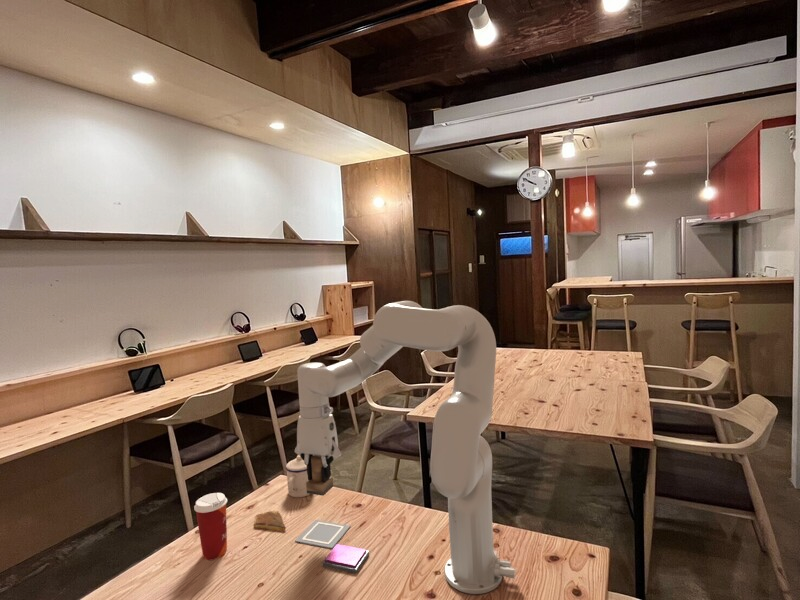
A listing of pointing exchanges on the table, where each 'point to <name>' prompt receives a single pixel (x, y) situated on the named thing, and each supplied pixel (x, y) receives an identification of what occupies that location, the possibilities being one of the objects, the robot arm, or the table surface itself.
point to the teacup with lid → (297, 477)
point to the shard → (269, 521)
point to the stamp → (318, 478)
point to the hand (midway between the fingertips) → (319, 478)
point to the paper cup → (212, 524)
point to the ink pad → (345, 558)
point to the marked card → (323, 534)
